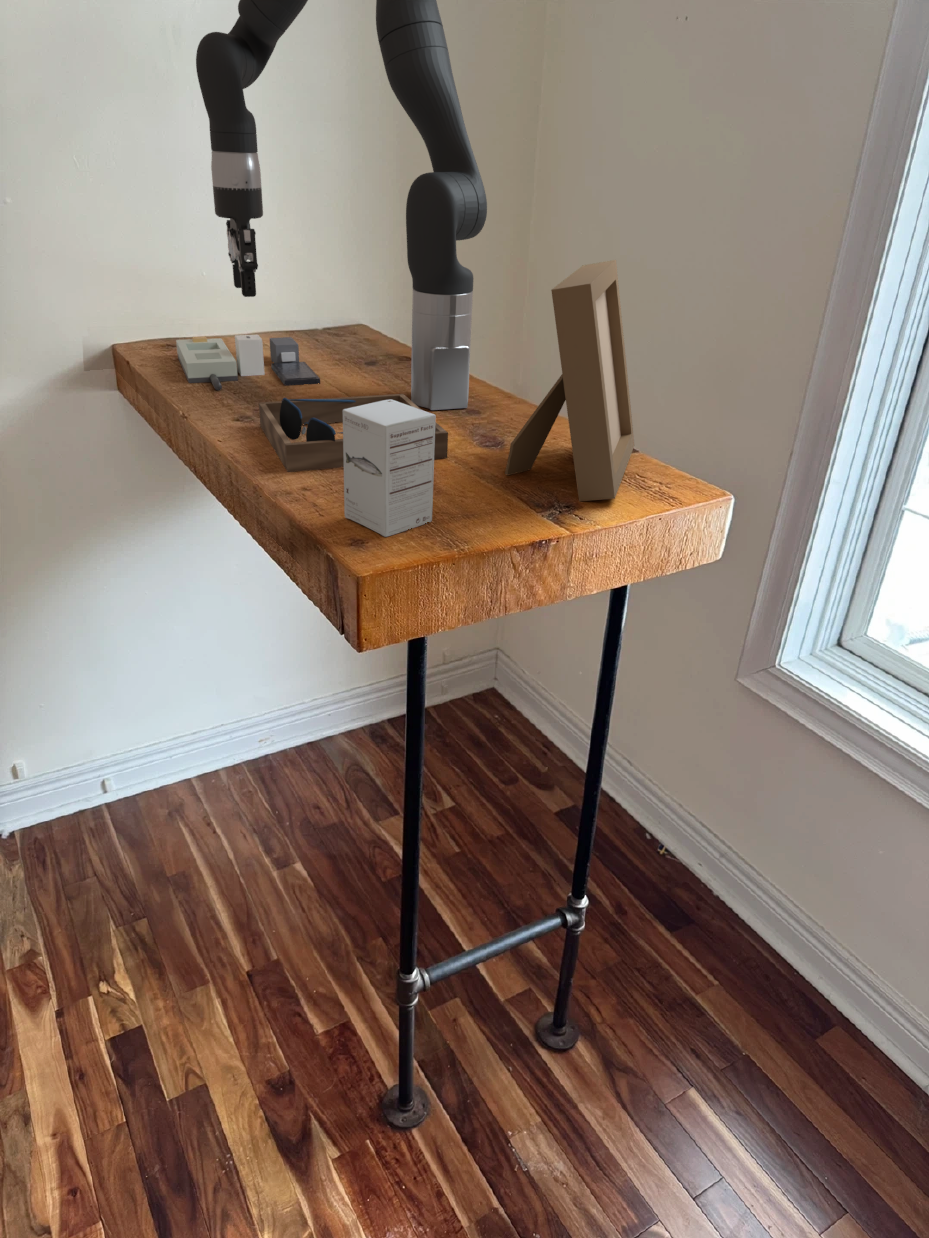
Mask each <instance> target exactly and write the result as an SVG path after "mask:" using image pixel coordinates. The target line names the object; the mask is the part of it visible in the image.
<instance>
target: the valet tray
mask: <svg viewBox="0 0 929 1238" xmlns="http://www.w3.org/2000/svg"><path fill="white" fill-rule="evenodd" d="M325 399H338V400H354V401H356V402H312V401H291V402H292V403H293V404H294V405H296V406H297V407H298V408H299V409H300V411H301V414H302V419H301V420H302V424H304V423H305V422H307V423H308V421H309V420H310V419H311V418H316V419H318V420H321V421H323V422H325V423H328V424H336V423H335V422H342V423H343V412H342V411H343V410H344V409H347V408H351V407H356V406H361V405H365V404H369V403H374V402H378V401H383V400H389V399H392V400H395V401H398V402H400V403H403V404H406V405H409V406H412V407H415V408H417V409H420V410H422V409H421V408H420V406H418V405H415V404H414V403H413V402H412V401H411V398H409V397H408V396H407V395H405V394H404V393H393V394H377V395H376V394H375V395H363V396H362V395H360V396H346V397H345V396H344V397H343V396H342V397H331V398H330V397H329V398H325ZM281 403H282V400H280V401H278V400H277V401H264V402H258V411H259V425H260V428H261V430H262V432H263V433H264V435H265V437H266V438H267V441H269V443H270V445H271V447H272V448H273V450H274V451H275V453H276V455H277V457H278V458H279V460H280V462H281V463H282V465H283V467H284V468H285V470H286V472H287V473H290V472H293V473H294V472H302V471H303V472H304V471H313V470H315V471H316V470H325V469H337V468H344V457H343V438H338V439H337V438H335V441H332V440H322V441H309V442H306V441H298V442H291V439H290V438H288V437H287V436H286V434H285V433H284V431H283V430H282V428H281V424H280V407H281ZM309 422H310V421H309ZM307 423H306V424H307ZM448 446H449V432H448V431H446V429H444V428H443V427H442V426H441V425H440V424H438V423H437V421H435V448H434V460H438V459H439V460H441V459H448V452H449V451H448V449H449V448H448Z"/></svg>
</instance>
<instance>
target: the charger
mask: <svg viewBox="0 0 929 1238" xmlns="http://www.w3.org/2000/svg"><path fill="white" fill-rule="evenodd" d="M234 341H235V342H234V343H235V357H236V358H235V359H236V363H237V373H239V375H240V376H241V377H248V376H249V377H250V376H251V377H252V376H265V363H264V360H265V359H264V348H263V347H264V346H263V344H264V343H263V338H262V337H260V335H259V334H242V335H240V334H239V335H238V334H237V335H236V334H235V335H234Z"/></svg>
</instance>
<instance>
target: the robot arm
mask: <svg viewBox="0 0 929 1238" xmlns="http://www.w3.org/2000/svg"><path fill="white" fill-rule="evenodd" d="M308 1H309V0H239V1H238V5H237V10H238V14H239V16H238V18H237V19H236V21H235V23H234V25H232V26H233V27H232V28H231V29H230V31H229V32H228V33H225V32H221V31H212V32H209V33H207V34H205V35H204V36H203V37H202V38H201V39H200V41H199V43H198V46H197V50H196V53H195V54H196V55H195V66H196V75H197V79H198V80H197V81H198V84H199V88H200V92H201V95H202V101H203V103H204V107H205V110H206V113H207V116H208V121H209V138H210V149H211V150H210V151H211V164H210V165H211V167H210V168H211V178H212V179H211V181H212V191H213V203H214V204H213V205H214V214H215V215H216V216H217V217H218V218H224V219H227V220H226V223H225V226H226V237H227V249H228V250H227V251H228V253H227V254H228V257H229V261H230V263H231V264H232V265H231V267H232V275H233V278H232V279H233V286H234V287H235V288H236V289H241V295H242V296H243V297H244V298H246V297H247V298H250V297H251V298H254V297H256V295H257V287H256V285H257V284H256V274H255V273H256V272H257V270H258V268H259V264H258V256H257V243H256V234H257V233H256V230H255V228H251V223H250V220H252V219H260V218H262V217H263V216H264V211H263V210H264V207H263V192H262V191H263V190H262V189H263V188H262V178H261V177H262V173H261V165H260V160H259V153H258V152H259V151H258V137H257V136H258V135H257V124H256V119H255V115H254V114H253V113H252V112H251V111H250V110H249V109H248V108H247V105H246V100H245V99H246V98H245V94H244V90H245V89H247V88H249V87H250V86H251V85H253V84H254V82H256V80H258V78H259V77H260V76H261V74H262V73H263V71H264V70H265V68H266V66H267V64H268V62H269V61H270V59H271V56H272V54H273V52H274V50H275V48H276V46H277V43H278V41H279V40H280V38H281V37H282V36H283V35H284V34H285V32H286V31H287V30H288V29H289V27H290V26H291V25H293V22H295V19H296V18H297V17H298V16H299V14H300V13H301V11H302V10H303V9H304V7H305V6H306V4H307V2H308ZM375 2H376V3H375V25H376V28H375V29H376V34H377V35H376V36H377V39H378V40H377V41H378V45H379V48H380V49H379V50H380V53H381V57H382V58H381V59H382V62H383V65H384V70H385V73H386V74H385V75H386V77H387V80H388V84H389V85H390V87H391V90H392V92H393V93H394V96H395V97H396V99H397V100H398V102H399V104H400V105H401V107H402V109H403V110H404V111H405V114H406V115H407V116H408V117H409V119H410V120H411V122H412V123H413V125H414V126H415V128H416V129H417V131H418V133H419V134H420V136H421V138H422V140H423V142H424V145H425V147H426V150H427V153H428V155H429V159H430V163H431V166H432V171H433V172H432V171H431V172H426V173H422V174H420V175H419V176H418V177H416V178H415V179H414V180H413V182H412V183H411V185H410V188H409V189H408V193H407V197H406V198H407V199H406V204H405V227H406V231H405V232H406V254H407V257H406V258H407V265H408V268H409V273H410V275H411V279H412V298H411V299H412V305H411V306H412V309H411V311H412V313H411V363H410V364H411V371H410V375H411V380H410V382H411V383H410V384H411V385H410V387H411V388H410V389H411V390H410V393H411V394H410V400H411V401H412V402H413V403H414V404H415V405H417V406H418V407H422V408H426V409H429V410H430V411H438V410H439V411H440V410H441V411H442V410H453V409H454V410H455V409H467V408H468V403H469V391H470V388H469V387H470V367H471V366H470V364H471V360H470V359H471V343H472V339H471V337H472V320H473V319H472V318H473V317H472V316H473V301H474V300H473V298H474V297H473V296H474V273H473V272H472V270H471V269H469V268H467V267H465V266H464V265H462V264H461V263H460V261H459V260H458V257H457V255H458V254H457V241H465V240H470V239H473V238H475V237H477V236H478V235H479V234H480V232H482V230H483V228H484V227H485V224H486V220H487V215H488V201H487V200H488V199H487V194H486V190H485V185H484V183H483V179H482V176H481V173H480V170H479V167H478V164H477V159H476V157H475V155H474V151H473V147H472V145H471V142H470V139H469V135H468V133H467V129H466V128H467V127H466V125H465V120H464V115H463V113H462V109H461V108H462V107H461V102H460V98H459V95H458V91H457V88H456V82H455V79H454V75H453V68H452V64H451V59H450V54H449V53H450V52H449V48H448V44H447V39H446V34H445V31H444V25H443V21H442V19H441V14H440V10H439V7H438V3H437V0H376V1H375ZM248 260H249V261H248Z"/></svg>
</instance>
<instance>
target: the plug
mask: <svg viewBox="0 0 929 1238" xmlns="http://www.w3.org/2000/svg"><path fill="white" fill-rule="evenodd" d="M299 348H300V347H299V343H298V342H297V341H296V340H295V339H294V338H293V337H292V336H289V337H288V336H284V337H269V350H270V352H269V353H270V360H271V362H272V363H273V362H274V363H289V362H300V353H299V351H300V350H299Z"/></svg>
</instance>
